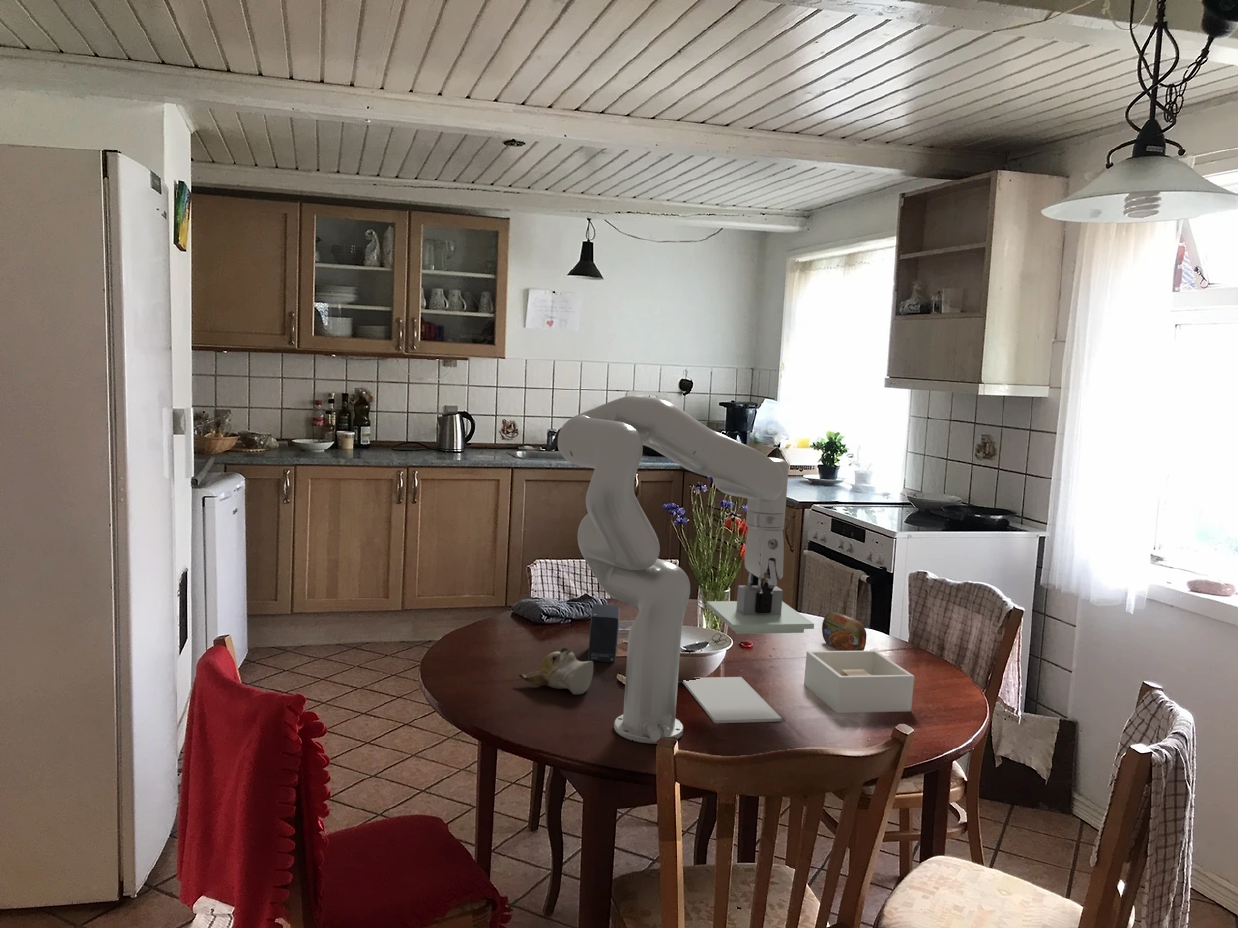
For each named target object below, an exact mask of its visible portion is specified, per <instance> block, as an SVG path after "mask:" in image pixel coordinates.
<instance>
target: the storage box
mask: <svg viewBox="0 0 1238 928" xmlns="http://www.w3.org/2000/svg"><path fill="white" fill-rule="evenodd" d="M857 669H864V670H865V671H866V672H868V673H869V674H870V675H867V676H841V670H857ZM803 679H804V680H803V685H804V686H805V687H806V688H807V689H808V690H809V691H811V692H812V693H813V694H814V695H816V696H817V697H818V698H819V699H820V700H821V701H822V702H824V703H825V704H826V705H827V706H828V707H829V708H830V709H831V710H833V712H835V713H836V714H851V713H852V714H853V713H855V714H857V713H859V714H860V713H862V714H863V713H889V712H890V713H891V712H893V713H894V712H895V713H896V712H898V713H899V712H900V713H901V712H912V706H913V705H912V704H913V693H914V684H915V675H913V674H912V673H911V672H909V671H907V670H906V669H904V668H903V667H901V666H900V665H898V664H897V663H896V662H894V661H892V659H890V658H888V657H886V656H885V655H884V654H882V653H880V652H879V651H878V650H863V651H838V650H814V651H813V650H807V651H806V655H805V668H804V678H803Z"/></svg>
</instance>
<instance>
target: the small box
mask: <svg viewBox="0 0 1238 928" xmlns="http://www.w3.org/2000/svg"><path fill="white" fill-rule="evenodd" d="M589 626H590V628H589V642H588V644H589V645H588V654H587V655H588V656H587V661H592V662H603V663H604V662H605V663H615V662H616V656H617V650H618V645H619V644H618V643H619V641H618V640H619V630H620V605H619V606H617V605H609V604H599V603H593V605H592V609H591V615H590V625H589Z"/></svg>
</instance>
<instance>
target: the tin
mask: <svg viewBox="0 0 1238 928" xmlns="http://www.w3.org/2000/svg"><path fill="white" fill-rule="evenodd" d="M821 624H822V625H821V634H822V637H823V640H824V642H825V643H826V645H827V646H829V647H831V648H833V649H834V650H835V651H865V648H866V644H867V643H866V642H867V631H866V628H865V626H864V624H863V623H862V622H861V621H859V620H857V619H855V618H853V617H849V616H848V615H845V614H842V613H840V612H832V611H831V612H828V613H827V614H826V615H825V616H824V618H823V620H822V623H821Z"/></svg>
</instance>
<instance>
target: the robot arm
mask: <svg viewBox="0 0 1238 928" xmlns="http://www.w3.org/2000/svg"><path fill="white" fill-rule="evenodd" d="M643 446H645V447H647V448H650V449H652V450H654V451H656V452H657V453H659V454H661V455H662V456H664V457H665V458H668V459H669V460H671V461H673V462H674V463H675V464H678V465H679V466H680V467H682V468H684V469H685V470H688V471H691V472H692V473H695V474H699V475H701V476H706V477H710V478H712V481H713V484H714V486H715V488H716V489H718V490H719V491H720V492H721V493H723V494H725V495H729V496H733V497H737V498H744V499H747V506H746V507H747V508H746V517H745V518H746V520H745V526H746V527H747V533H746V541H745V551H744V568H745V569H746V570H747V577H748V580H747V585H758V593H756V605H755V612H756V613H771V608H772V595H773V589H774V587H775V586H777V585H778V580H781V579H783V576H784V557H785V552H784V551H785V548H784V547H785V545H784V542H785V541H784V532H783V531H784V529H785V519H786V506H787V493H788V481H789V464H788V462H787V461H786V460H785V459H782V458H777V457H770V456H769V457H768V456H767V455H766V454H764V453H763V452H761V451H759V450H757V449H756V448H754V447H751V446H749V445H747V444H744V443H742V442H740V441H738V440H735V439H733V438H731V437H730V436H729V437H728V436H727V435H725V434H722V433H720V432H718V431H716V430H713V429H711V428H710V427H708V426H706V425H705V424H703V423H702V422H700V421H699V420H697V419H696V418H694V417H692V416H691V415H690V414H688V413H687V412H685V411H684V410H682V409H680V408H679V407H678V406H676V405H675V404H673V403H671V402H670V401H667V400H664V399H661V398H654V397H643V396H636V395H635V396H634V395H631V396H630V395H629V396H628V395H627V396H623V397H619V398H617V399H613V400H612V401H609V402H606V403H603V404H601V405H599V406H597V407H594V408H591V409H589V410H585V411H584V412H582V413H581V412H580V413H578V414H577V415H574V416H572V417H570V419H568V420H567V421H566V422H565V423H564V424H563V425H562V426H561V428H560V430H559V432H558V436H557V448H558V450H559V451H558V452H559V453H560V455H561V456H562V457H563V459H564V460H566V461H567V462H568V463H570V464H573V465H575V466H578V467H579V466H581V467H585V468H589V469H593V474H591V475H592V476H591V478H590V481H589V482H590V483H589V485H588V488H587V491H586V496H585V507H586V511H587V512H588V513H587V514H586V515H584V517H583V518H582V519H581V520H580V522H579V523H580V524H579V526H578V529H577V544H578V547H579V551H580V553H581V555H582V557H583V558H584V560H585V562H586V564H587V565H588V567H589V569H590V570H591V572H592V573H593V575H594V576H595V578H596V580H597V582H598V583H599V585H600V587H601V588H602V589H603V590H604V592H605V593H606V594H607V595H608V596H610V598H612V599H613V600H615V601H617V602H620V603H622V604H623V603H624V604H626V605H629V606H631V607H634V608H636V609H638V613H637V616H636V617H635V618H634V620H633V622H632V624H631V626H630V628H629V632H628V635H627V636H628V637H627V653H626V664H625V665H626V666H625V668H626V669H625V680H624V681H625V685H624V698H623V699H624V700H623V713H622V714H621V715H618V717H616V718H615V720H614V724H613V726H614V727H613V728H614V731H615V732H616V733H617V734H618V735H619V736H620V737H623V738H625V739H627V740H629V741H632V740H633V742H637V743H641V744H657V743H656V742H657V740H659V739H660V738H663V737H675V738H677V739H676V740H678V739H680V738H681V737H682V736H683V732H684V725H683V723H682V722H681V721H680V720H679V719H677V718H676V716H677V715H676V714H677V703H678V702H677V699H678V697H677V696H678V686H679V671H680V656H681V642H682V641H681V639H682V631H683V622H684V617H685V612H686V609H687V606H688V603H689V600H690V595H691V582H690V579H689V576H688V574H687V573H686V572H685V571H684V570H683V569H682V568H681V567H680V566H678V565H677V564H675V563H673V562H670V561H667V560H664V559H662V558H661V559H660V558H659V556H660V551H661V550H660V549H661V547H660V542H659V541H660V540H659V538H658V535H657V533H656V532H655V529H654V528H653V525H652V524H651V522H650V520H649V519H648V517H647V515H646V513H645V512H644V510H643V508H642V506H641V504H640V502H639V500H638V498H637V496H636V494H635V489H634V487H635V478H636V475H637V471H638V469H639V465H640V463H641V460H642V456H643V453H644V452H643V451H644V449H643V448H644V447H643ZM765 576H767V577H765Z"/></svg>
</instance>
